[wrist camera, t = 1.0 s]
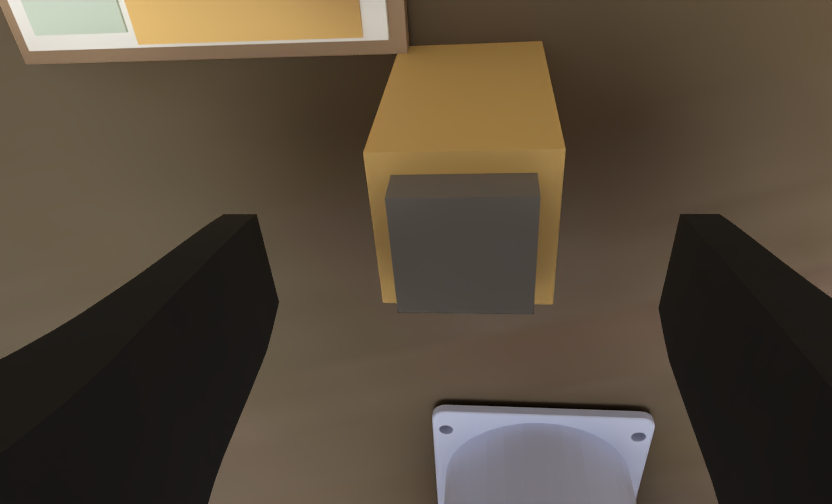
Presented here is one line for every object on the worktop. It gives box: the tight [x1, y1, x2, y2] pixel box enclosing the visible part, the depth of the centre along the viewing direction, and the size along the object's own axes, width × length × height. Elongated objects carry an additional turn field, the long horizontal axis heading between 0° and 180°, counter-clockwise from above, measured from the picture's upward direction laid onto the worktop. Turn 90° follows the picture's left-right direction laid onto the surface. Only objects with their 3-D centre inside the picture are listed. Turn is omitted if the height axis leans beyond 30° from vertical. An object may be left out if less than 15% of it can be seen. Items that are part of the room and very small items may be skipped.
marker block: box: [363, 41, 566, 314], centre depth 14 cm, size 4×4×6 cm
